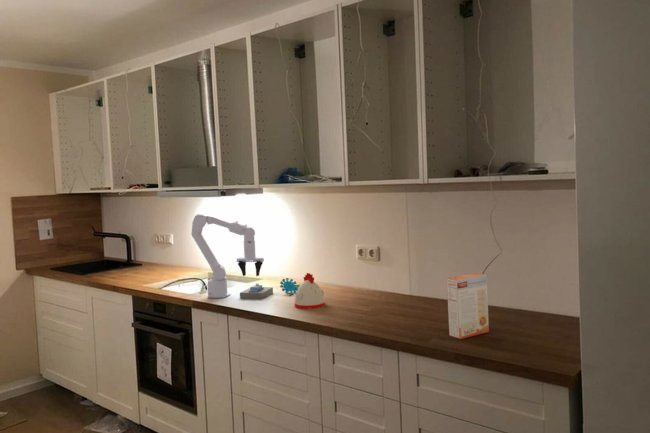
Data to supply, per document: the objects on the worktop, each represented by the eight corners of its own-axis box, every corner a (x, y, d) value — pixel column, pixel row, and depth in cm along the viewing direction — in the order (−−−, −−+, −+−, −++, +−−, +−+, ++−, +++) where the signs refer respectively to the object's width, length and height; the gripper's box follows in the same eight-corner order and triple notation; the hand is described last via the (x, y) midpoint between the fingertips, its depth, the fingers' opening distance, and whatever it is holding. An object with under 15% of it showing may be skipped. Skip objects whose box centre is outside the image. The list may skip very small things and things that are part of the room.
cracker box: (477, 329, 190) (475, 272, 188) (489, 332, 184) (488, 274, 183) (447, 335, 183) (446, 277, 182) (459, 339, 178) (458, 279, 176)
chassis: (240, 298, 259) (239, 292, 259) (251, 292, 273) (251, 287, 273) (262, 299, 256) (261, 293, 256) (273, 293, 269) (272, 287, 269)
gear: (282, 292, 261) (278, 276, 267) (279, 299, 264) (275, 283, 271) (302, 293, 266) (298, 277, 272) (299, 299, 269) (294, 284, 276)
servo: (248, 297, 260) (248, 286, 260) (257, 293, 270) (256, 282, 269) (256, 298, 259) (255, 286, 258) (264, 293, 268) (263, 282, 268)
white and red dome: (304, 310, 229) (303, 277, 228) (289, 305, 240) (287, 273, 239) (330, 305, 236) (329, 273, 236) (314, 300, 248) (313, 269, 247)
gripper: (233, 250, 267) (234, 276, 268) (259, 250, 263) (260, 277, 264) (239, 249, 274) (240, 274, 275) (264, 248, 270) (266, 274, 271)
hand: (251, 275), depth 270 cm, fingers open, 7 cm apart
